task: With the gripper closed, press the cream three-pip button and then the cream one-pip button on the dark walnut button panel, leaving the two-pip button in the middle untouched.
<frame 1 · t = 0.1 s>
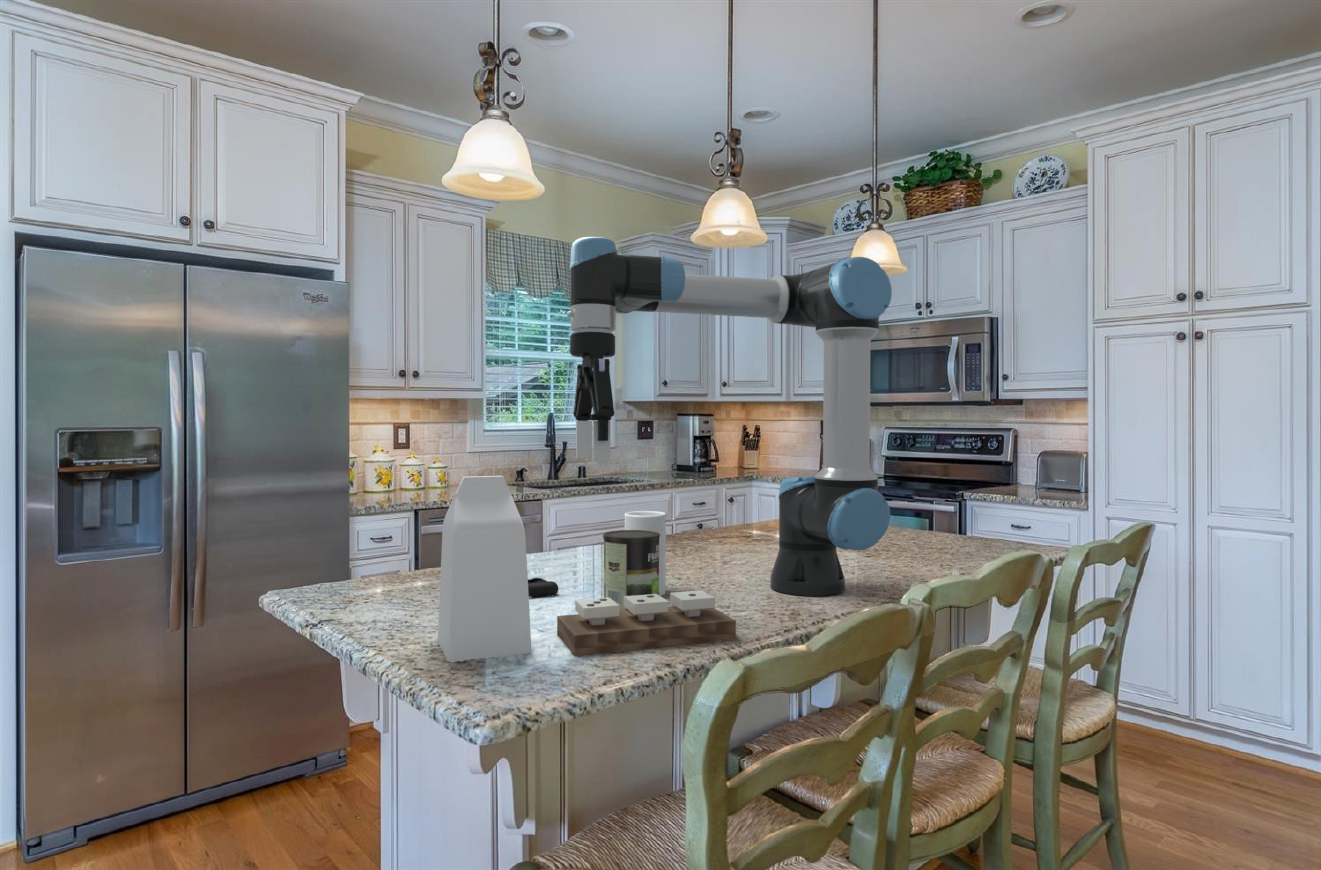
hand: (592, 459, 130), 28 cm above the countertop, fingers open, 13 cm apart
button 2: (645, 609, 123), point 4 cm above the countertop, slide at 0.0 cm
coffee can: (631, 612, 140), on the countertop
milk: (483, 648, 118), on the countertop
button 3: (597, 613, 120), point 4 cm above the countertop, slide at 0.0 cm
cup: (644, 593, 155), on the countertop
door handle: (501, 596, 154), on the countertop
button panel: (645, 636, 123), on the countertop
button 1: (692, 605, 126), point 4 cm above the countertop, slide at 0.0 cm
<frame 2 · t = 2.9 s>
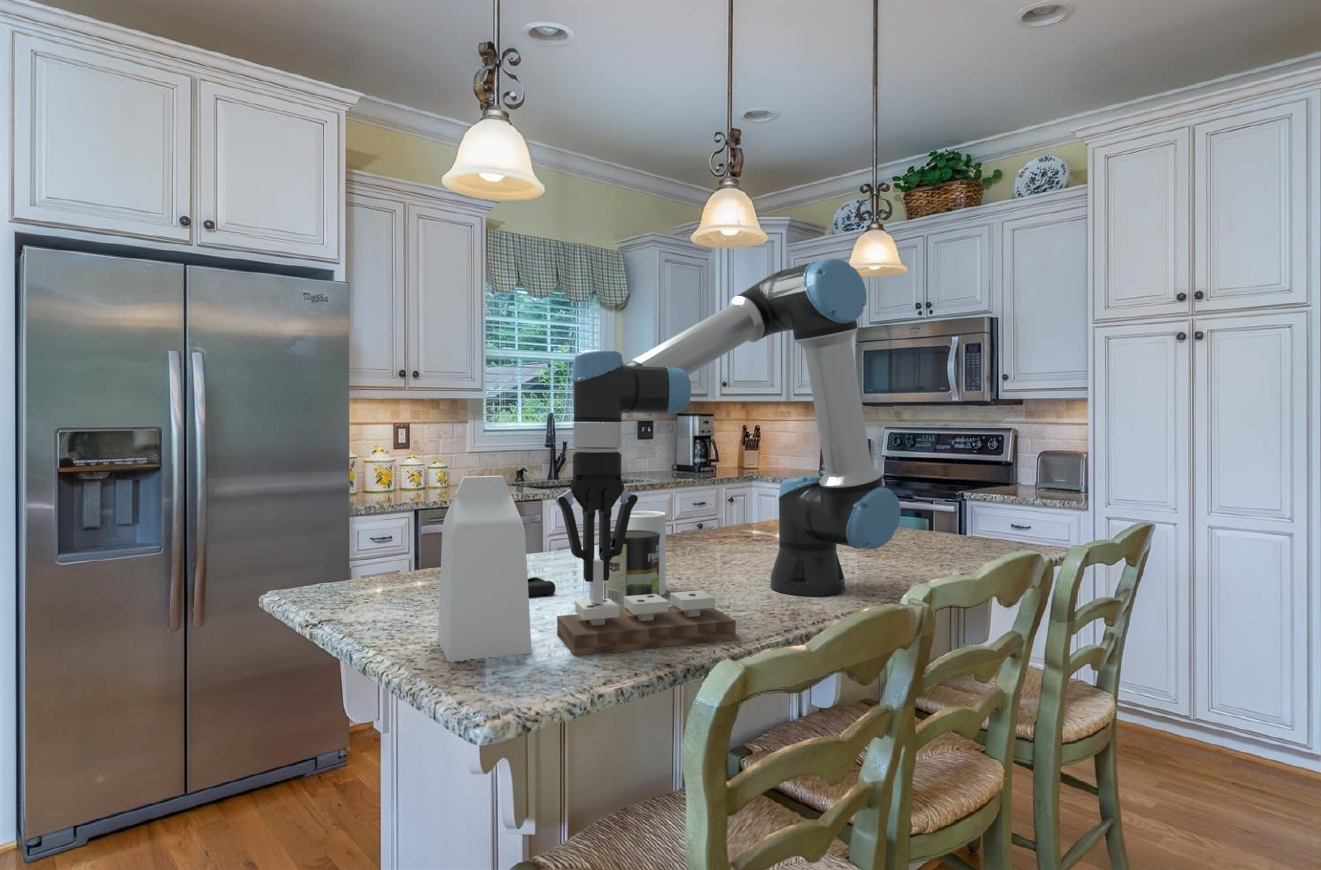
hand: (596, 601, 120), 6 cm above the countertop, fingers closed
button 3: (597, 615, 120), point 4 cm above the countertop, slide at 0.2 cm, touching gripper
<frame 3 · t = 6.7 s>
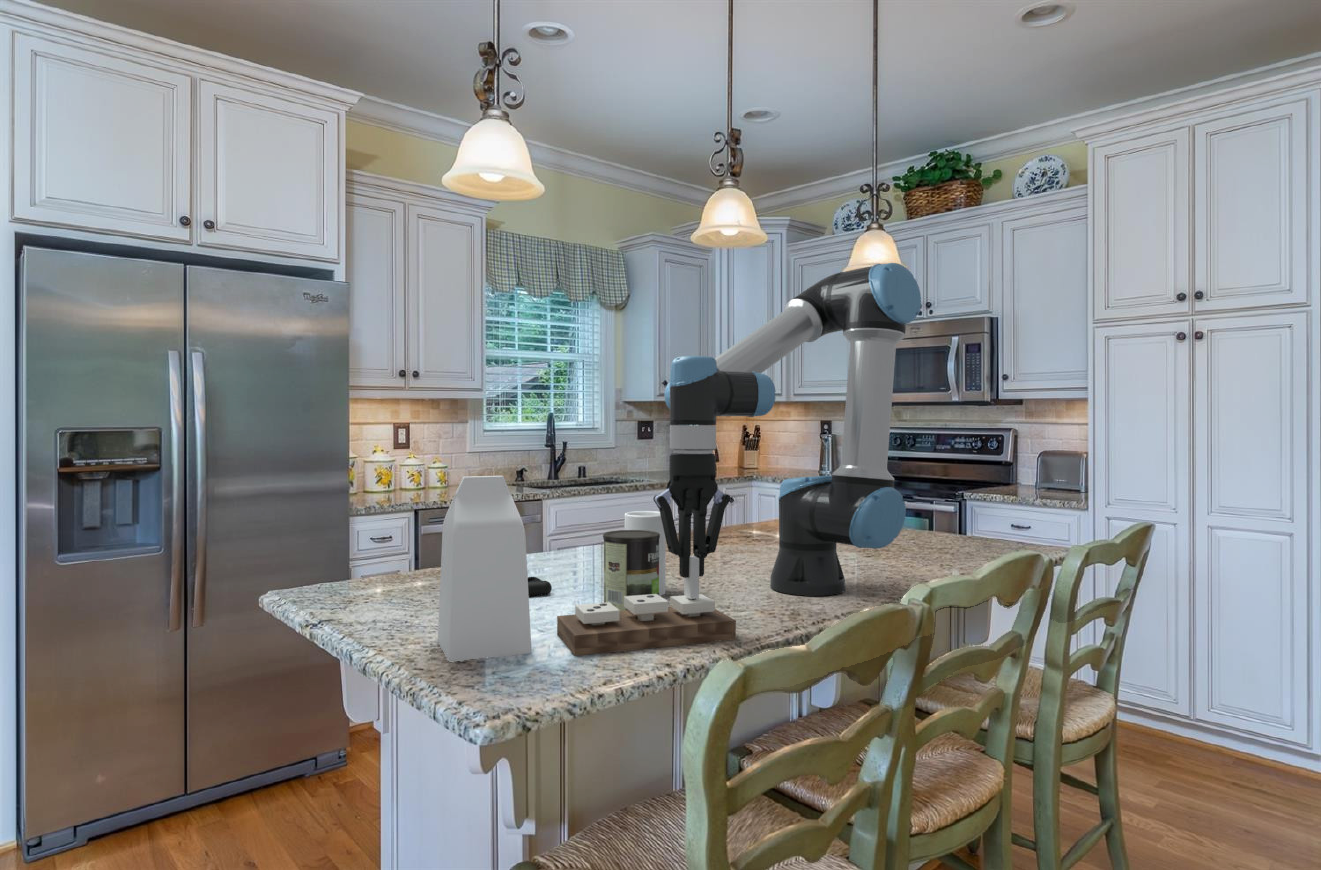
hand: (691, 596, 126), 6 cm above the countertop, fingers closed
button 3: (597, 618, 120), point 4 cm above the countertop, slide at 0.8 cm
button 1: (692, 609, 126), point 4 cm above the countertop, slide at 0.6 cm, touching gripper
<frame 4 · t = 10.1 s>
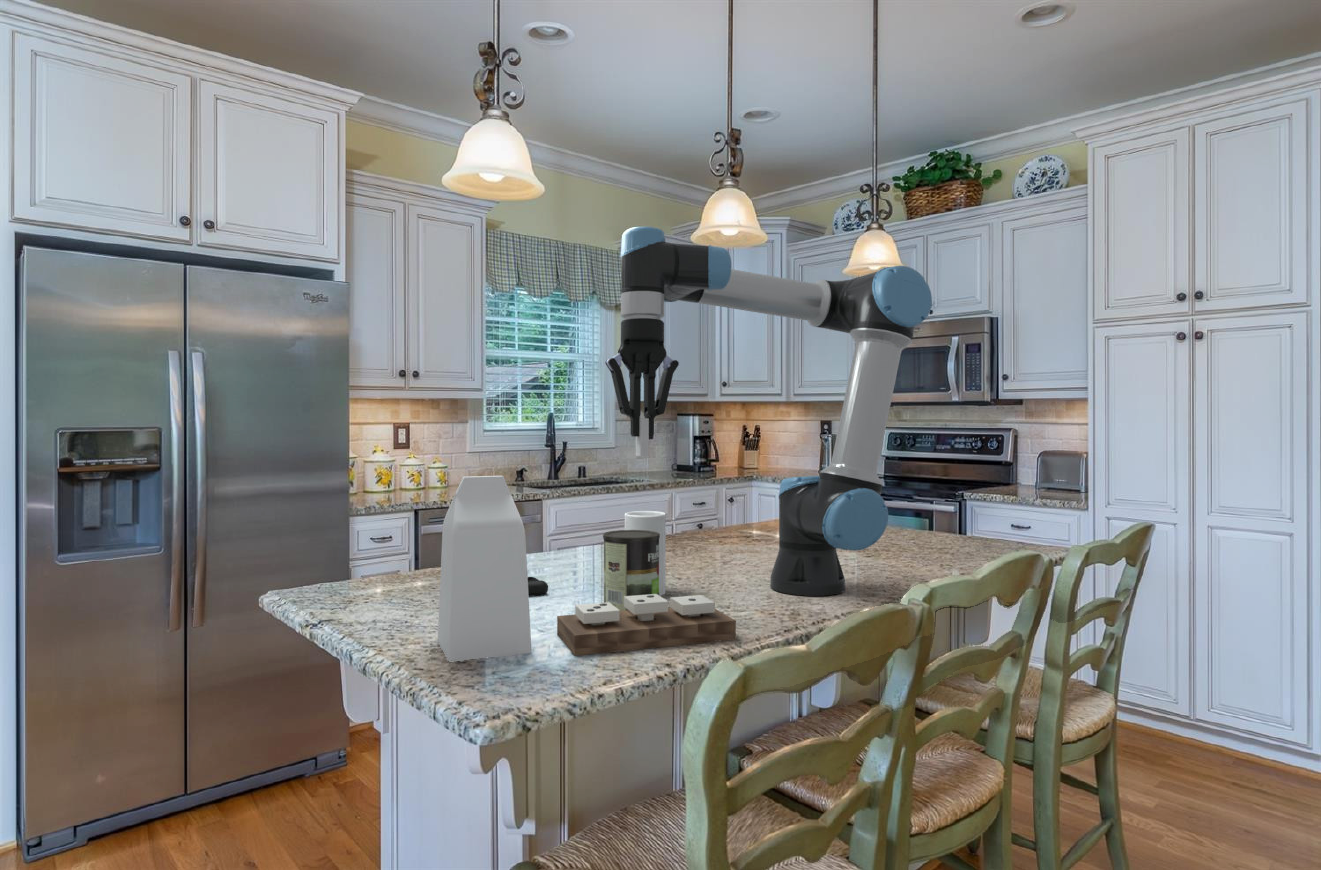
hand: (642, 455, 134), 28 cm above the countertop, fingers closed
button 1: (692, 610, 126), point 4 cm above the countertop, slide at 0.8 cm
at the end: button 3 slide at 0.8 cm; button 1 slide at 0.8 cm; button 2 slide at 0.0 cm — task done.
